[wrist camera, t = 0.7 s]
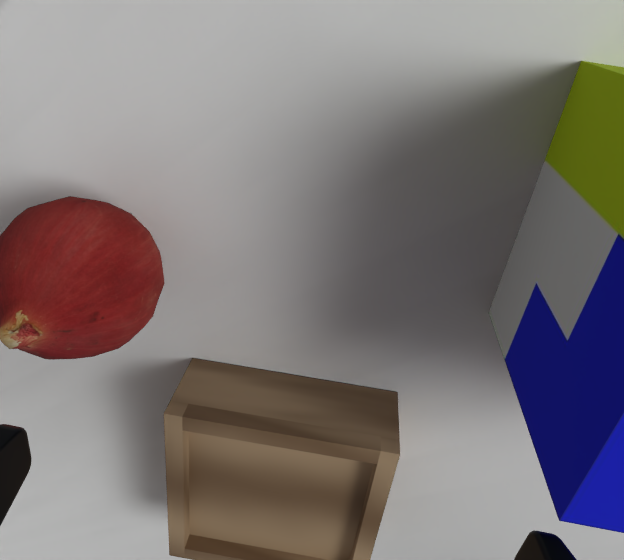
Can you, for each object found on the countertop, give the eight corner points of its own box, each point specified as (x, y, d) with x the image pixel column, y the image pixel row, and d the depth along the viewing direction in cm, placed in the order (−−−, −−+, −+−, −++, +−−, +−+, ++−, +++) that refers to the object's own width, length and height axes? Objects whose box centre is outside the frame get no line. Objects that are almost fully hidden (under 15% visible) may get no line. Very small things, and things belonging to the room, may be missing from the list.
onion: (166, 314, 24) (78, 446, 17) (48, 260, 23) (-96, 374, 16) (208, 210, 21) (122, 316, 14) (74, 145, 20) (-85, 223, 13)
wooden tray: (363, 523, 29) (361, 590, 26) (192, 493, 30) (169, 555, 26) (397, 392, 24) (400, 454, 21) (192, 358, 25) (163, 413, 22)
